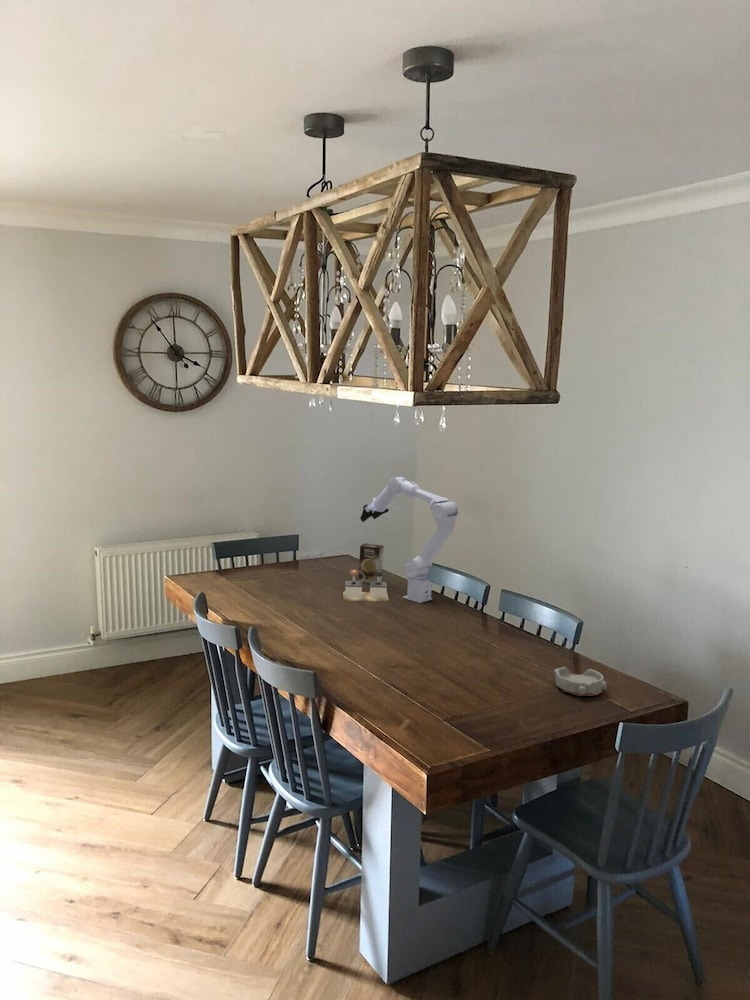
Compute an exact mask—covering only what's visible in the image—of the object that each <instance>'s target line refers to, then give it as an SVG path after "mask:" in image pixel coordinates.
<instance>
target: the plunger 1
mask: <svg viewBox="0 0 750 1000" xmlns="http://www.w3.org/2000/svg"><path fill="white" fill-rule="evenodd" d="M349 575H350V576H352V581H353V584H355V581H356V576H359V569H350V570H349Z"/></svg>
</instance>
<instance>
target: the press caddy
mask: <svg viewBox="0 0 750 1000" xmlns="http://www.w3.org/2000/svg"><path fill="white" fill-rule="evenodd" d="M344 583H345V590H344V592H345V597H355V598H361V597H362V592H363V591H362V590H363V582H362V581H359V580H355V584H353V580H345V582H344ZM387 584H388V583H387V581H381V582H380V584H377V582H371V581H370V583H369V592H370V598H386V595H388V592H387V591H388V590H387V589H388V585H387Z"/></svg>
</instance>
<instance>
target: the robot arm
mask: <svg viewBox="0 0 750 1000" xmlns="http://www.w3.org/2000/svg"><path fill="white" fill-rule="evenodd" d="M399 494H402V495H404V496H406V497H408V498H411V499H415V498H418V499H420V500H422V501H424V502H426V503H427V504H429V510H431V515H432V517H433V520H434V521H435V523H436V525H437V527H438V528H437V529H436V530H435V532H434V533H433V535H432V537H431V538H430V539H429V540H428V542H427V543H426V545H425V546H424V547H423V548H422V550H421V551H420V553H419V554H418V555H417V556H415V557H414V558H413V559H412V560H411V561H409V562H407V563H406V564H405V566H404V573H405V576H406V578H407V589H406V590H407V594H406V595H404V596H402V599H406V600H409V601H412V602H415V603H419V604H420V603H421V604H422V603H425V602H428V601H431V600H433V598H432V585H433V584H432V582H431V581H430V580H429V579H427V577H428V574H429V572H430V570H431V567H432V565H433V562H432V561H433V559H434V558H435V556H436V555H437V554H438V552H439V551H440V550H441V549H442V546H443V545H445V543H446V542H447V540H448V538H449V537H450V536H451V535H452V534H453V532H454V531H455V525H456V520H457V518H458V515H459V508H458V505H457V503H456V502H455V501H453V500H450V499H449V498H447V497H444V496H441V495H437V494H434V493H432V492H429V491H426V490H424V489H421V488H420V486H419V485H418V484H417V483H416V482H415V481H408V480H406V478H404V477H403V476H396V477H391V478H389V479H388V481H387V485H386V487H385V488H384V489H383V490H382V491H381V492H380V494H378V495H377V497H373V498H372V499H371V500H372V502H370V504H364V505H363V508H362V509H363V510H362V512H361V516H360V518H359V519H360V521H361V522H362V523H365V522H366V521H368V519H370V518H371V517H372V519H374V520H375V519H378V518H380V517H381V516H382V515H385V514H386V513H388V512H389V509H388V508H390V507H391V505H392V504H391V503H392V502H393V500H394V499H396V497H398V495H399Z"/></svg>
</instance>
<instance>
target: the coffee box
mask: <svg viewBox="0 0 750 1000" xmlns="http://www.w3.org/2000/svg"><path fill="white" fill-rule="evenodd" d="M384 546H385V545H383V544H375V543H374V544H373V543H362V544H361V545H360V547H359V564H358V565H359V566H358V581H362V583H366V584H370V581H371V582H377V577H378V576H376V575H375V571H376V570H382V571H383V564H384V563H383V560H384ZM382 580H383V576H380V582H383V581H382Z"/></svg>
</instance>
